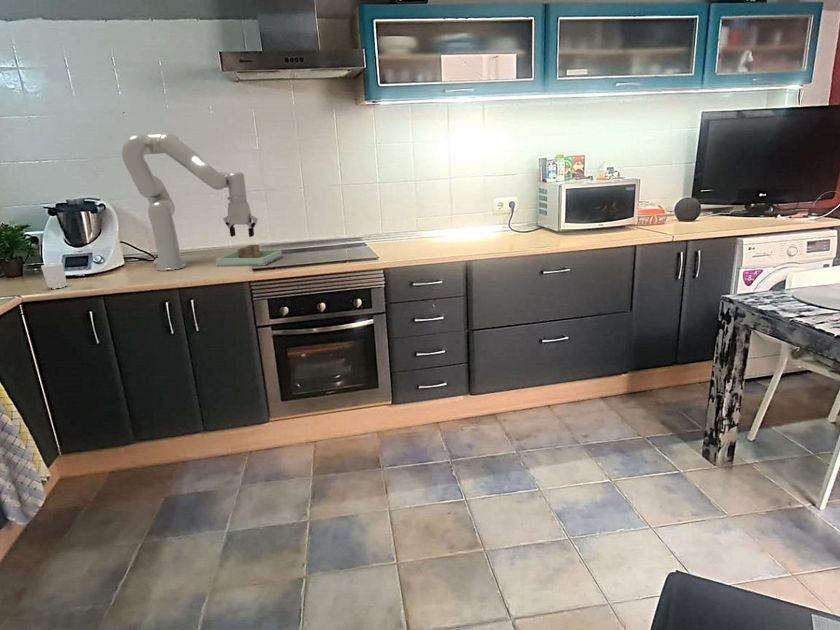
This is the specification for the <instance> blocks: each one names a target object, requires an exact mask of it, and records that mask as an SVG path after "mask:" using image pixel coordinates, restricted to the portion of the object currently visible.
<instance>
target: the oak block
mask: <svg viewBox="0 0 840 630" xmlns="http://www.w3.org/2000/svg"><path fill="white" fill-rule="evenodd" d="M250 247H251V250H252V256H253V258H260V251H261V250H260V246H259V244H250V245H246V246H244V248H250Z"/></svg>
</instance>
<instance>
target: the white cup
mask: <svg viewBox="0 0 840 630" xmlns="http://www.w3.org/2000/svg"><path fill="white" fill-rule="evenodd" d="M40 267H41V270H42V274H43V277H44V279H45V283H46V285H47V288H48V287H60V286H64V285H66V284H67V285H68V283H67V277H66V271H65V267H64V263H63V262H51V263H45V264H43V265H41V266H40Z"/></svg>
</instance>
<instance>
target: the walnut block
mask: <svg viewBox="0 0 840 630" xmlns="http://www.w3.org/2000/svg"><path fill="white" fill-rule="evenodd" d="M237 251H238V256H239V258H253V256H252V250H251V247H250V248H245V247H240V248H239V249H237Z"/></svg>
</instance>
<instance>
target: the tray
mask: <svg viewBox="0 0 840 630" xmlns="http://www.w3.org/2000/svg"><path fill="white" fill-rule="evenodd" d="M281 257H282V258H283V255H282V250H260V258H239V256H238V250H236V251H233V252H231V253H228V254H225V255H223V256H219V257H218V258H215V262H216V267H253V266H252V265H258V264H266V263H269V262H271V261H274V260H276V259H278V260H279V258H280V259H282V258H281ZM276 261H277V260H276ZM274 262H275V261H274ZM271 263H272V262H271ZM269 264H270V263H269Z"/></svg>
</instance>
